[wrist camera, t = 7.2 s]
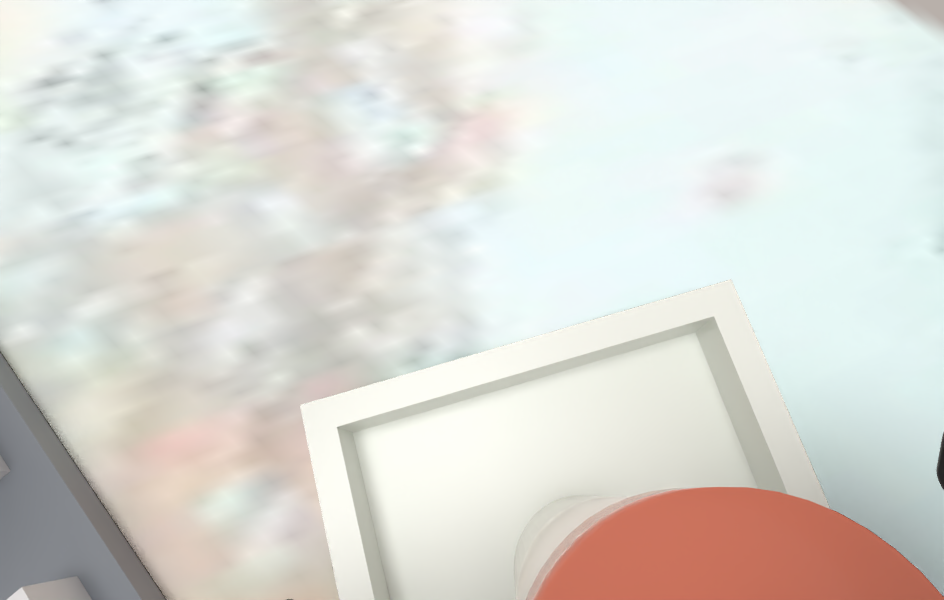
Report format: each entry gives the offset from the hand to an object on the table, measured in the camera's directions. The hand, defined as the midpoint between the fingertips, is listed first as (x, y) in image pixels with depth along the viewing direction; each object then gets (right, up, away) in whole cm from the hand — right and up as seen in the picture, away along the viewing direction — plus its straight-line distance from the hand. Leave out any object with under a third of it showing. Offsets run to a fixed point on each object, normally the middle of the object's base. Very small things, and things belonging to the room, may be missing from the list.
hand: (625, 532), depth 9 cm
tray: (+1, -4, +9) cm, 9 cm away
